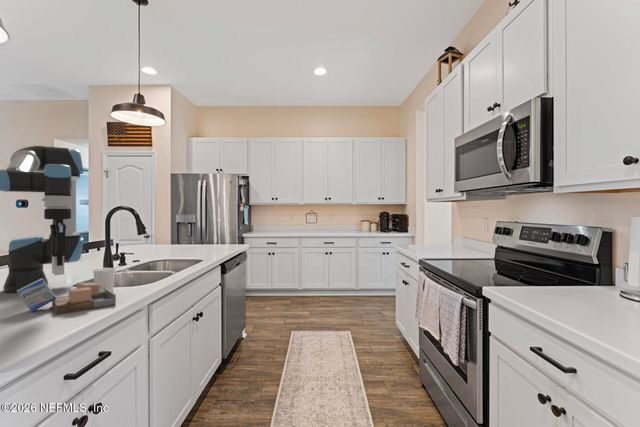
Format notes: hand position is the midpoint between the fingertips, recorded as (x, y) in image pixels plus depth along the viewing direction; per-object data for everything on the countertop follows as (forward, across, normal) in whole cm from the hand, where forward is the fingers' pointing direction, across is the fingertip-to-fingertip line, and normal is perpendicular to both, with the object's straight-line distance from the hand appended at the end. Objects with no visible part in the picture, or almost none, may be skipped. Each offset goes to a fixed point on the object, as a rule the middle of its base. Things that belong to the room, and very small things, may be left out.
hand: (58, 273), depth 118 cm
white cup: (+13, -20, +19) cm, 30 cm away
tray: (+13, -2, +13) cm, 19 cm away
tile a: (+10, -7, +10) cm, 16 cm away
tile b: (+10, +2, +6) cm, 12 cm away
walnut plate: (+13, -2, +4) cm, 14 cm away
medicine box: (+12, -6, -3) cm, 14 cm away
